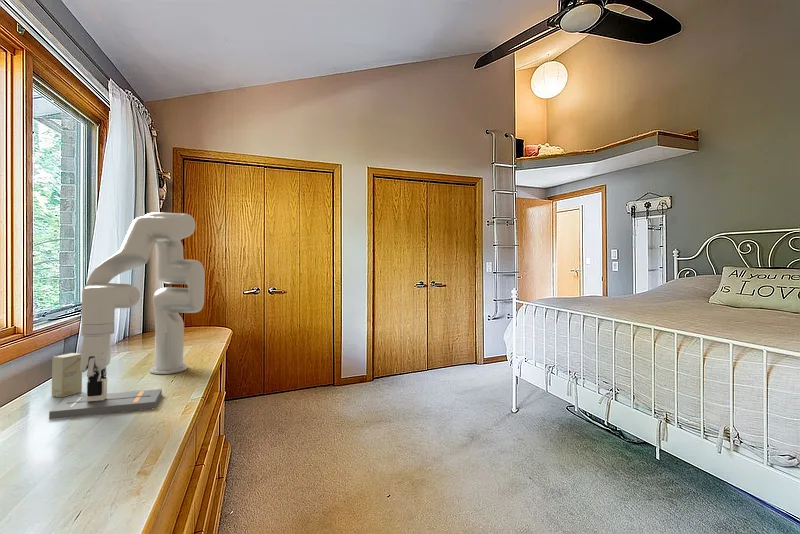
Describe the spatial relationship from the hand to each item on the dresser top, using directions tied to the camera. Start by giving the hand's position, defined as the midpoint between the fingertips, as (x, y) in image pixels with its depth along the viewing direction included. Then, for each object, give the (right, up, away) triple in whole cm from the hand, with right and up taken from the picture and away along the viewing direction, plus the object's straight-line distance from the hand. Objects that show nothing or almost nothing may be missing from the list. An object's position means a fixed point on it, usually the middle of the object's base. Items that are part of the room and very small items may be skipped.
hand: (97, 392), depth 115 cm
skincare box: (-17, -4, +10) cm, 20 cm away
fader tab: (0, -2, 0) cm, 2 cm away
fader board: (+3, -4, +1) cm, 5 cm away
